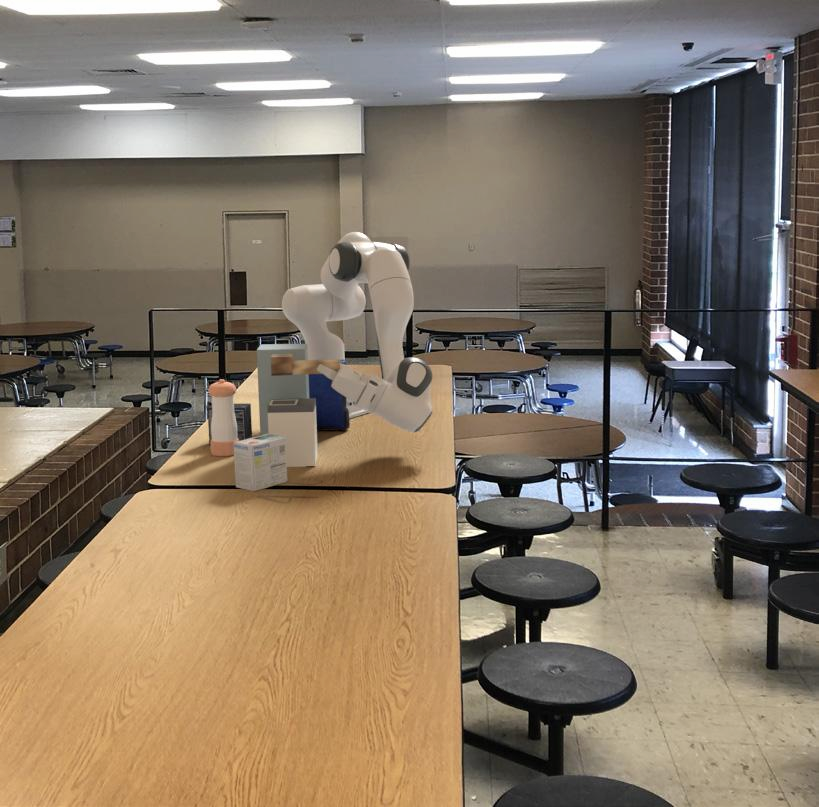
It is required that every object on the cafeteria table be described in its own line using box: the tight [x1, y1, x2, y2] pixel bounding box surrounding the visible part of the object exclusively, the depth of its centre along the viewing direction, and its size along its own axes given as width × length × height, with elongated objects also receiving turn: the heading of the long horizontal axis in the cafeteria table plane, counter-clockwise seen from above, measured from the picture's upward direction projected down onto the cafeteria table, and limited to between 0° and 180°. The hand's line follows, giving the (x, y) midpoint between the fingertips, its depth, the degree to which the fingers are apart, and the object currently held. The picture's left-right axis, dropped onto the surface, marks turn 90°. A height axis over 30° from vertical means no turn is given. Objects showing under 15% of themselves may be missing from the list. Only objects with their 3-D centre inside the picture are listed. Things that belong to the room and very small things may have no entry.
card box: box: [267, 398, 319, 468], centre depth 274 cm, size 11×10×15 cm
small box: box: [206, 403, 253, 447], centre depth 297 cm, size 11×6×10 cm, turn 84°
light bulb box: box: [233, 434, 288, 492], centre depth 254 cm, size 11×7×11 cm, turn 141°
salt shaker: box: [207, 378, 239, 457], centre depth 285 cm, size 7×7×19 cm
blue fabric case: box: [309, 359, 351, 431], centre depth 310 cm, size 14×5×20 cm, turn 84°
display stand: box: [256, 343, 309, 436], centre depth 286 cm, size 13×11×27 cm
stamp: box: [271, 354, 340, 376], centre depth 271 cm, size 16×5×4 cm, turn 91°
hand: (318, 365), depth 271 cm, fingers closed on stamp, 3 cm apart
